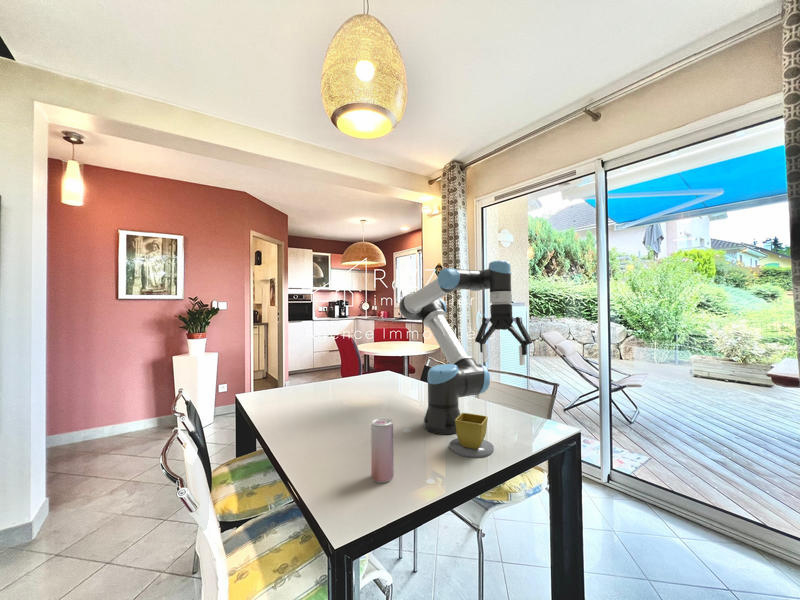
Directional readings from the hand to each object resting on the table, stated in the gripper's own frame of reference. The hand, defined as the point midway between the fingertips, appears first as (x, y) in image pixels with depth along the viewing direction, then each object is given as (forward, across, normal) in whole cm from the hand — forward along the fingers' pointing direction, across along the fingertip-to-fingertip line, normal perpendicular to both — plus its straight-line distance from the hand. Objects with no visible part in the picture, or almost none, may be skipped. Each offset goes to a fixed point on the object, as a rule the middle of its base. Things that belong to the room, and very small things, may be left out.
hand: (503, 363), depth 115 cm
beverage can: (+26, -15, -48) cm, 57 cm away
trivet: (+26, -5, -16) cm, 31 cm away
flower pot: (+25, -5, -16) cm, 30 cm away
